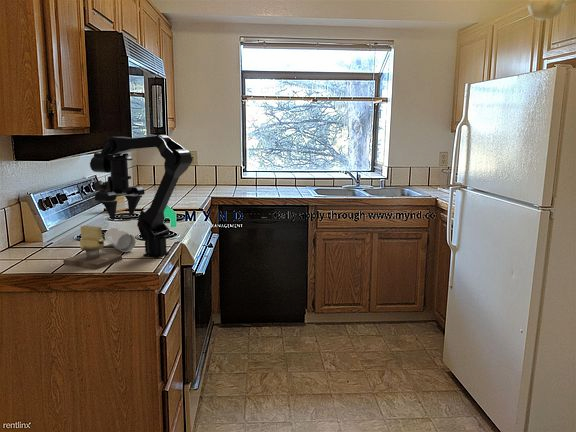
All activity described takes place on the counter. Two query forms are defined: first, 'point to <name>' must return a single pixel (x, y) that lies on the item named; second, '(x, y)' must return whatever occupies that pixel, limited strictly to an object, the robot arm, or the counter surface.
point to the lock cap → (91, 238)
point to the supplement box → (120, 203)
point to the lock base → (93, 259)
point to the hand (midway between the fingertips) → (122, 217)
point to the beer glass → (120, 239)
